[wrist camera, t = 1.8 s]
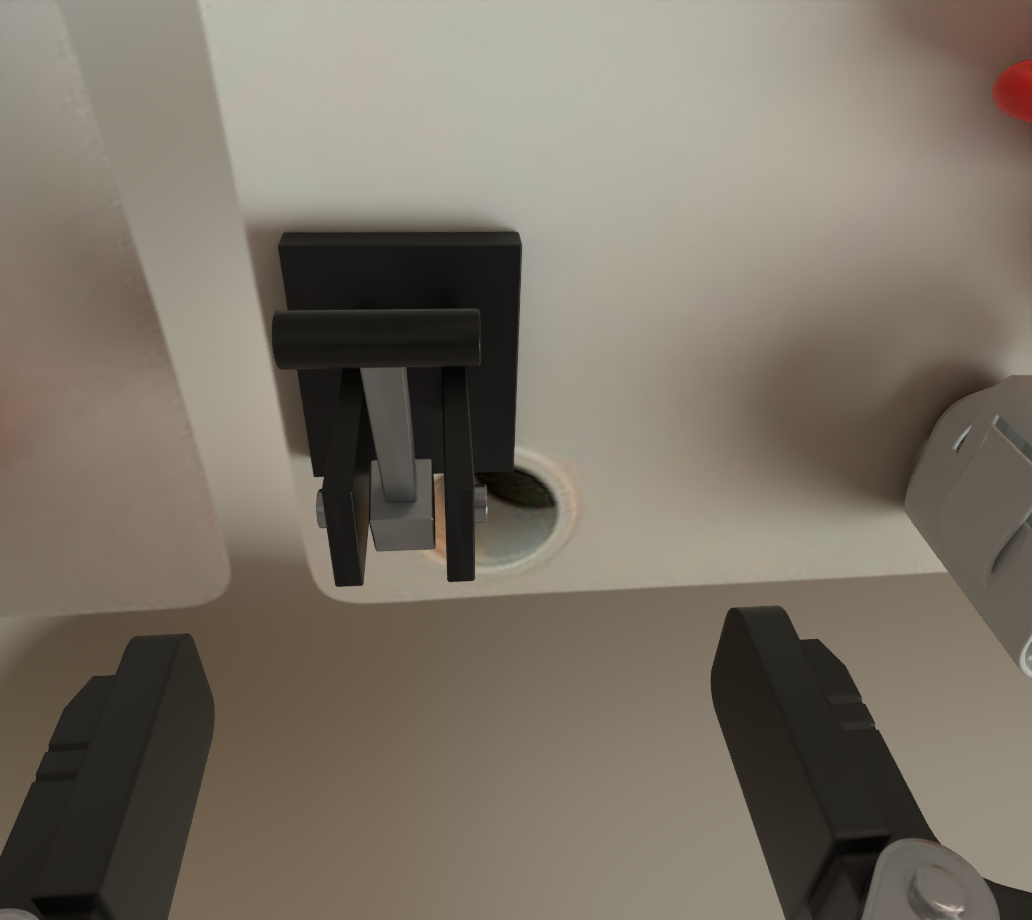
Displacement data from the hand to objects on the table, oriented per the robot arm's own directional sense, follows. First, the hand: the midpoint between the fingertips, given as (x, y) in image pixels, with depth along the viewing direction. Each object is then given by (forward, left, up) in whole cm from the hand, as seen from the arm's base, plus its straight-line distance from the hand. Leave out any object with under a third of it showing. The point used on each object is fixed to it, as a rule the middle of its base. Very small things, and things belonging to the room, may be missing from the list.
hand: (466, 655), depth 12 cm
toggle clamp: (+5, -8, -25) cm, 27 cm away
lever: (+1, -4, -13) cm, 14 cm away
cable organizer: (+31, +8, -25) cm, 41 cm away
